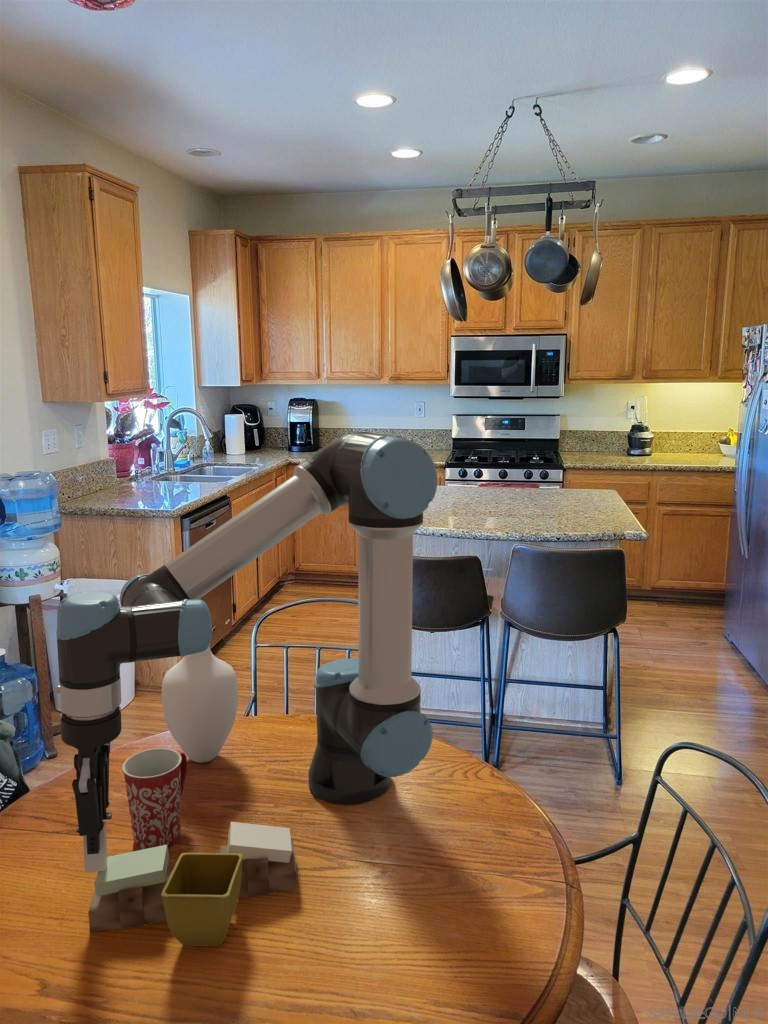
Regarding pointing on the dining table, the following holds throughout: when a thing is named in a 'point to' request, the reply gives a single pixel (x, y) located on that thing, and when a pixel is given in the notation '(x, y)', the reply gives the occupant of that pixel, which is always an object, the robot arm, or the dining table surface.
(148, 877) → the rocker green
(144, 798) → the mug
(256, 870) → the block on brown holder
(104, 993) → the dining table surface
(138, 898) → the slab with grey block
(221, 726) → the vase
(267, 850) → the block
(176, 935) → the flower pot
